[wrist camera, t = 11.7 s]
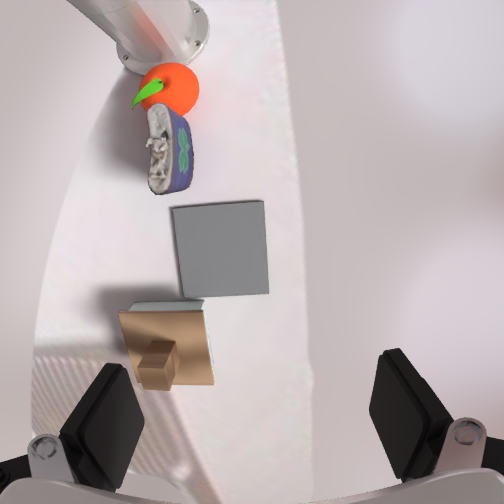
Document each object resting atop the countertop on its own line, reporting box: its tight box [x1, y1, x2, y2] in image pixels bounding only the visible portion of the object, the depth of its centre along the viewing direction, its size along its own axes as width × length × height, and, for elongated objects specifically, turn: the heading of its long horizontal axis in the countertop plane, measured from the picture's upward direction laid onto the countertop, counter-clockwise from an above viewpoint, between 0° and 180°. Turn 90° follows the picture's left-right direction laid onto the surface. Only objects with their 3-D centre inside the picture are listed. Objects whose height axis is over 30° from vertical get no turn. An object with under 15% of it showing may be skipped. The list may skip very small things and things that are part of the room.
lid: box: [118, 310, 214, 391], centre depth 34 cm, size 11×11×7 cm
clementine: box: [132, 62, 199, 116], centre depth 30 cm, size 8×7×7 cm
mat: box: [173, 201, 269, 298], centre depth 38 cm, size 12×11×1 cm
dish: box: [128, 300, 214, 368], centre depth 39 cm, size 10×10×4 cm
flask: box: [145, 103, 194, 195], centre depth 30 cm, size 9×3×11 cm, turn 2°
